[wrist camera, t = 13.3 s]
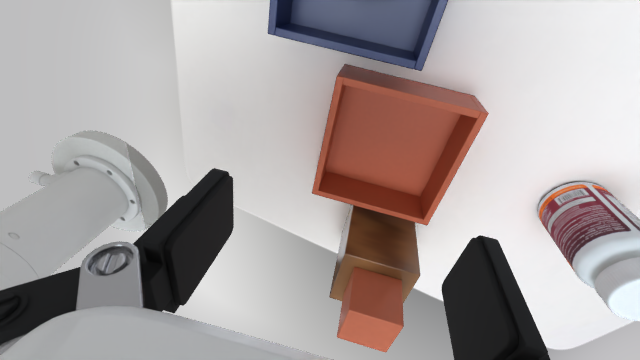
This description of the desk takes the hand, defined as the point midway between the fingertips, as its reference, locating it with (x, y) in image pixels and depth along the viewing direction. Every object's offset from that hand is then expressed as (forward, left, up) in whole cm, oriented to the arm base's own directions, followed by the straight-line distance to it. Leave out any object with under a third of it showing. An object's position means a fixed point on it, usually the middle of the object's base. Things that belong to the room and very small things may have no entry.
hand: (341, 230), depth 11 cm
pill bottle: (+23, -6, -20) cm, 31 cm away
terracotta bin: (+3, -4, -20) cm, 21 cm away
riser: (+5, -15, -20) cm, 26 cm away
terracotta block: (+5, -15, -10) cm, 19 cm away
